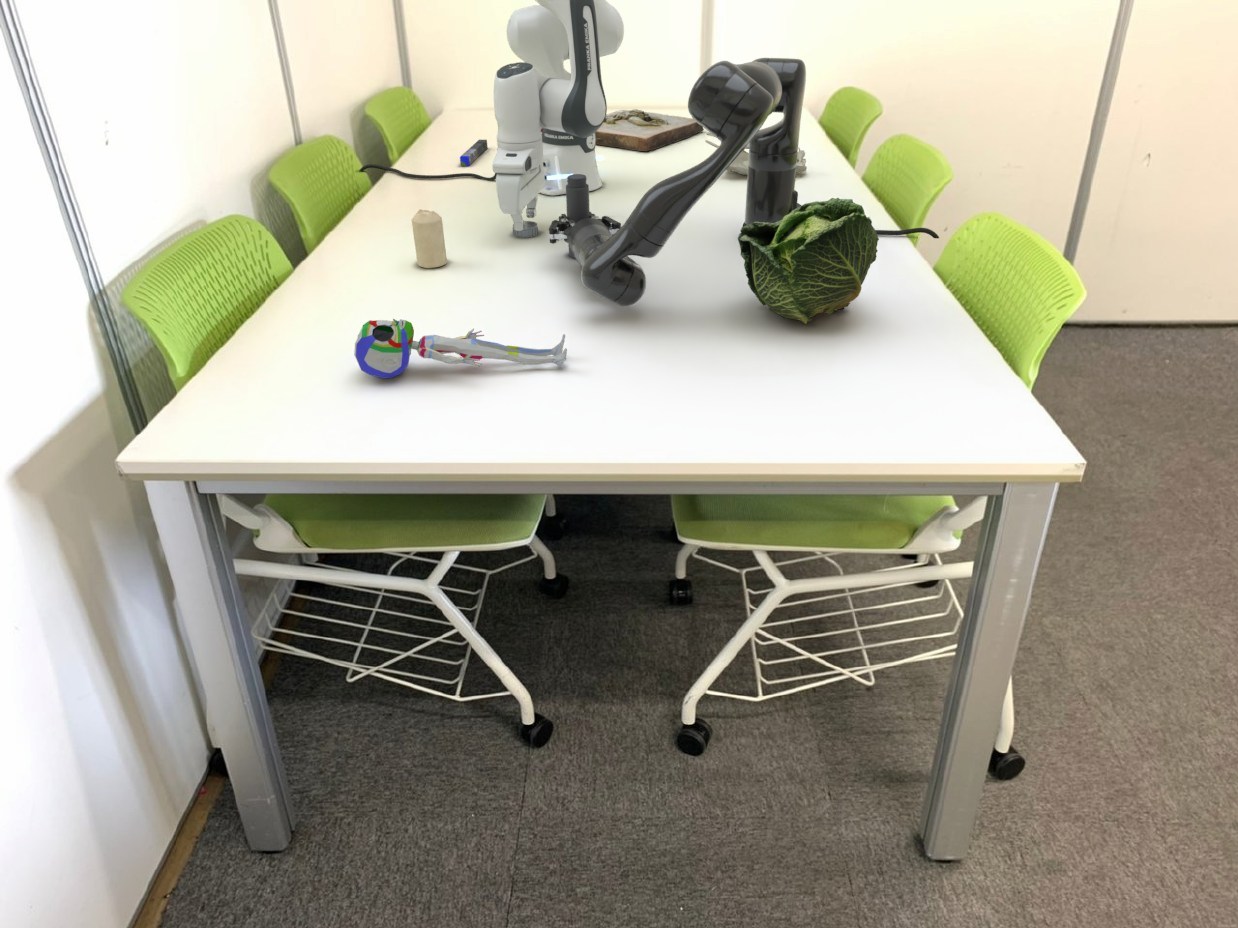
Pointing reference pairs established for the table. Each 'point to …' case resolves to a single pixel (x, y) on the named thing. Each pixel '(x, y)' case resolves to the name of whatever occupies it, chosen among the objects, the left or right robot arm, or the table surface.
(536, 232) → the lid
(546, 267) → the table surface
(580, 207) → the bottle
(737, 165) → the anatomical model
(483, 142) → the blue-capped grey bar
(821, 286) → the vegetable
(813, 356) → the table surface
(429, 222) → the candle
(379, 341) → the toy
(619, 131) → the plaque
